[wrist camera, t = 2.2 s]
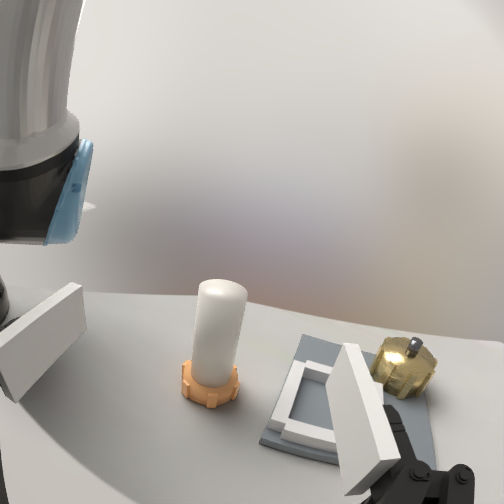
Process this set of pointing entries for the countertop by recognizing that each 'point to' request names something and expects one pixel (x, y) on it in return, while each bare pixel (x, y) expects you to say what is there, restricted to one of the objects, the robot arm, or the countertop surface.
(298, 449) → the carrier plate
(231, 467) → the countertop surface
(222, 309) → the white cylinder orange base
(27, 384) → the robot arm
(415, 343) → the sun gear
